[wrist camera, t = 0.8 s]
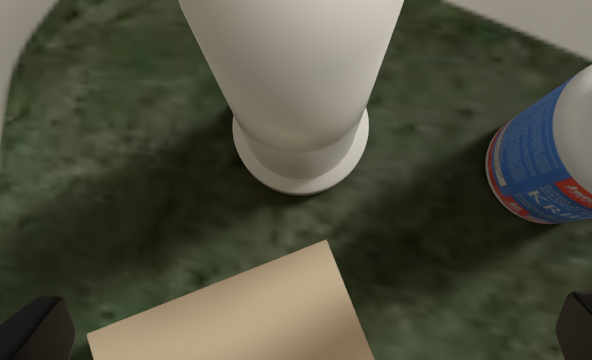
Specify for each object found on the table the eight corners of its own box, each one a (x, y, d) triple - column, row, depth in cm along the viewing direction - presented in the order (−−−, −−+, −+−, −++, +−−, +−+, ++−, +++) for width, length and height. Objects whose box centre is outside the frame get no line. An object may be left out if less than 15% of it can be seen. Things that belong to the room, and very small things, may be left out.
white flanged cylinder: (386, 167, 23) (488, 38, 10) (263, 215, 22) (202, 147, 9) (336, 53, 24) (368, -196, 11) (218, 97, 23) (110, -105, 11)
